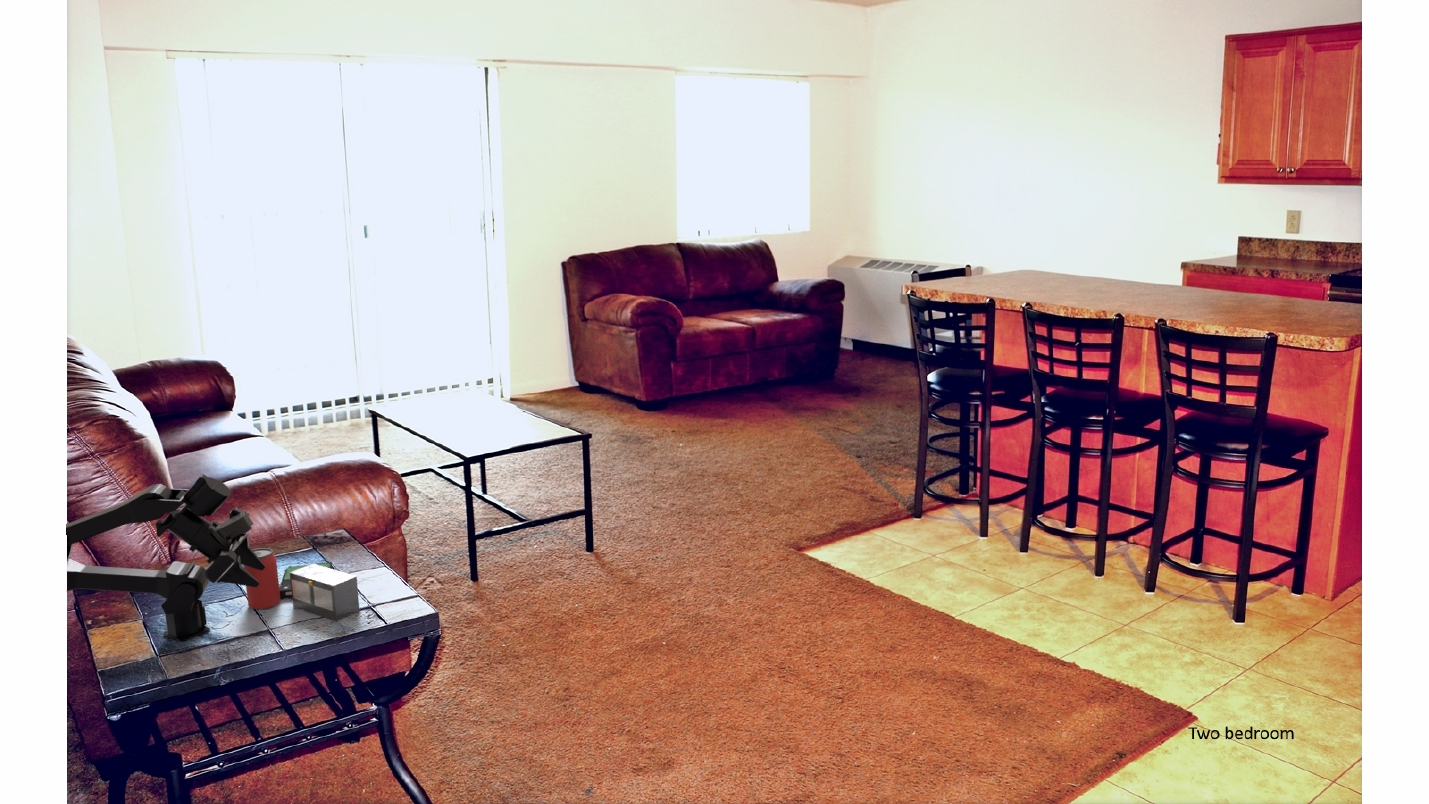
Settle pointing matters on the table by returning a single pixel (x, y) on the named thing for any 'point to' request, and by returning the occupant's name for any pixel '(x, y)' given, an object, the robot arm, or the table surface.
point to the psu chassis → (324, 592)
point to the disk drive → (286, 582)
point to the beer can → (264, 582)
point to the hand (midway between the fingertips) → (261, 576)
